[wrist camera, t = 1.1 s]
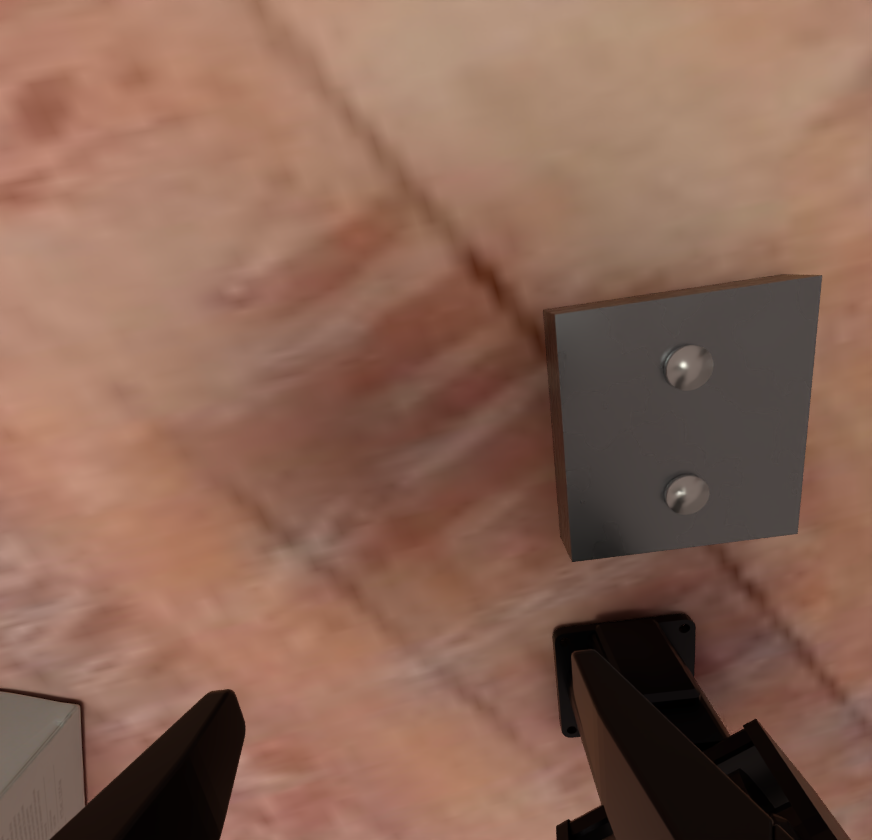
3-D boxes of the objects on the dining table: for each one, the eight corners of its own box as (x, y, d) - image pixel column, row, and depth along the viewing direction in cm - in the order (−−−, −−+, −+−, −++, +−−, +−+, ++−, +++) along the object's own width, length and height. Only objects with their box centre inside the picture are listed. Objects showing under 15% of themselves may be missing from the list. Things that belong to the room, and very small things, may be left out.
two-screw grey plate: (758, 505, 21) (803, 538, 19) (557, 531, 22) (573, 566, 19) (774, 274, 18) (828, 275, 16) (540, 308, 19) (556, 315, 16)
